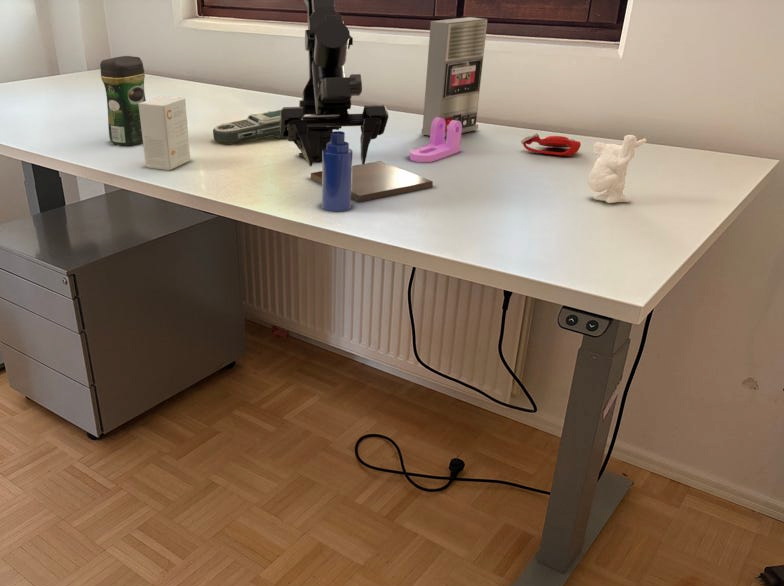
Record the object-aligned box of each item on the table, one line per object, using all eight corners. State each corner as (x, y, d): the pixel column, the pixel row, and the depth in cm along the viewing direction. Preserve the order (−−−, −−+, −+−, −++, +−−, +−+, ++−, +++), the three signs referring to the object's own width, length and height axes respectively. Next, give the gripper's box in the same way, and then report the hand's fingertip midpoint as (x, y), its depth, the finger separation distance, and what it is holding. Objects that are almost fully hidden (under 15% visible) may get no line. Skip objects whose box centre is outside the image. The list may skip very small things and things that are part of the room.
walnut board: (310, 179, 147) (310, 173, 147) (379, 166, 155) (380, 160, 154) (359, 202, 135) (359, 195, 134) (432, 187, 142) (432, 181, 142)
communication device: (204, 137, 178) (201, 99, 173) (293, 125, 187) (292, 89, 183) (223, 148, 168) (220, 108, 164) (316, 135, 178) (315, 97, 173)
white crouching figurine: (638, 200, 135) (653, 133, 129) (623, 210, 131) (639, 140, 125) (592, 191, 140) (605, 126, 134) (577, 200, 135) (590, 133, 129)
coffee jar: (134, 135, 180) (125, 52, 170) (157, 139, 175) (149, 55, 166) (103, 143, 173) (91, 57, 163) (127, 148, 169) (116, 61, 159)
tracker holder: (556, 139, 170) (591, 137, 161) (553, 159, 171) (588, 158, 162) (517, 132, 164) (551, 130, 155) (514, 153, 165) (548, 151, 156)
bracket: (438, 147, 168) (440, 116, 165) (459, 151, 165) (462, 119, 162) (404, 159, 160) (406, 126, 156) (426, 163, 157) (429, 130, 153)
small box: (166, 157, 161) (160, 95, 155) (191, 161, 159) (186, 97, 153) (144, 167, 155) (137, 102, 148) (170, 170, 153) (164, 105, 146)
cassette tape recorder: (440, 139, 175) (450, 23, 162) (421, 134, 179) (429, 21, 166) (478, 130, 182) (491, 19, 170) (459, 126, 186) (470, 17, 174)
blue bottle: (316, 205, 133) (316, 131, 127) (340, 200, 136) (342, 127, 129) (332, 213, 130) (333, 137, 123) (356, 208, 132) (359, 133, 125)
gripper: (279, 57, 124) (286, 140, 120) (389, 55, 126) (399, 136, 122) (276, 97, 135) (283, 175, 131) (378, 95, 136) (387, 171, 132)
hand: (337, 164), depth 129 cm, fingers open, 9 cm apart
